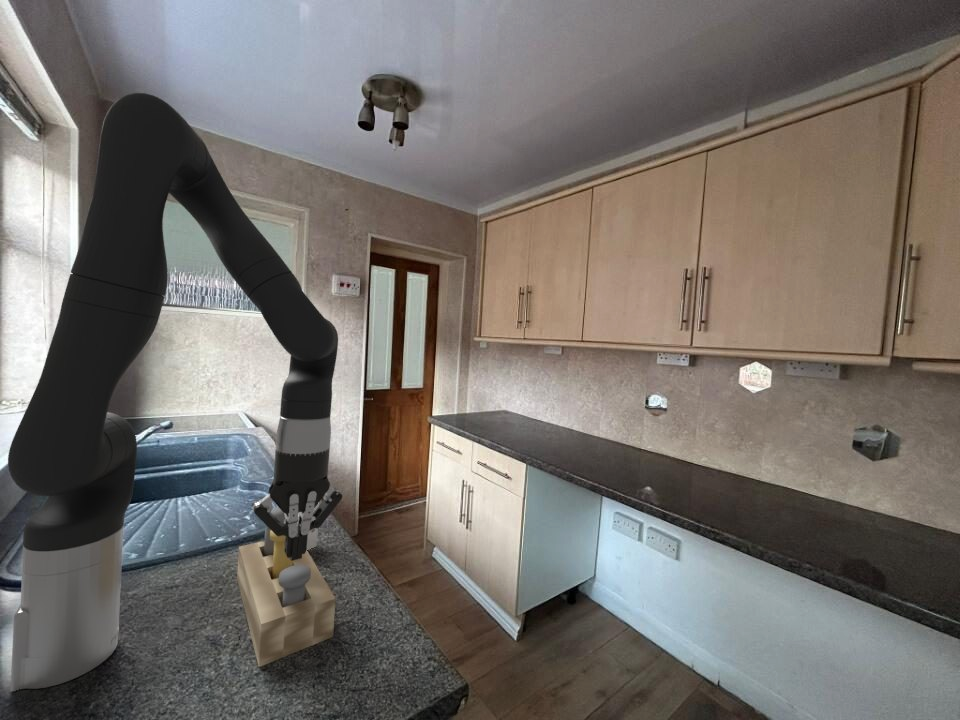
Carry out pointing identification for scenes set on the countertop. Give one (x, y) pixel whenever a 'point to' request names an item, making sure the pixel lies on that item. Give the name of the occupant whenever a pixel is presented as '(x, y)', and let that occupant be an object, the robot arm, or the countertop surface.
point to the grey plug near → (294, 583)
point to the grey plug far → (268, 542)
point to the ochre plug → (279, 555)
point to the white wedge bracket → (312, 535)
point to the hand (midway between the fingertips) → (295, 557)
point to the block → (263, 601)
